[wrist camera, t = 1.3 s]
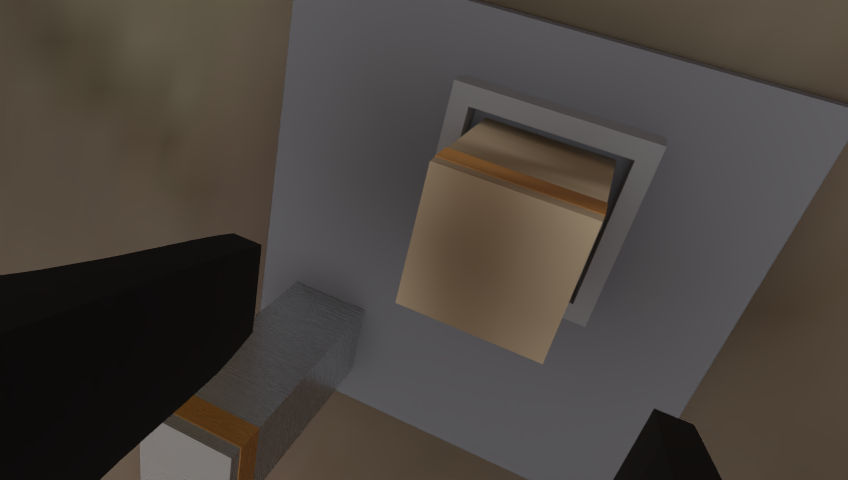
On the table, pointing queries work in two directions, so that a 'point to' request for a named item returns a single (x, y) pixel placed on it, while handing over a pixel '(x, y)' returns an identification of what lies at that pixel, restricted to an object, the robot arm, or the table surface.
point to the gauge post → (259, 392)
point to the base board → (615, 243)
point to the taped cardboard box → (505, 235)
